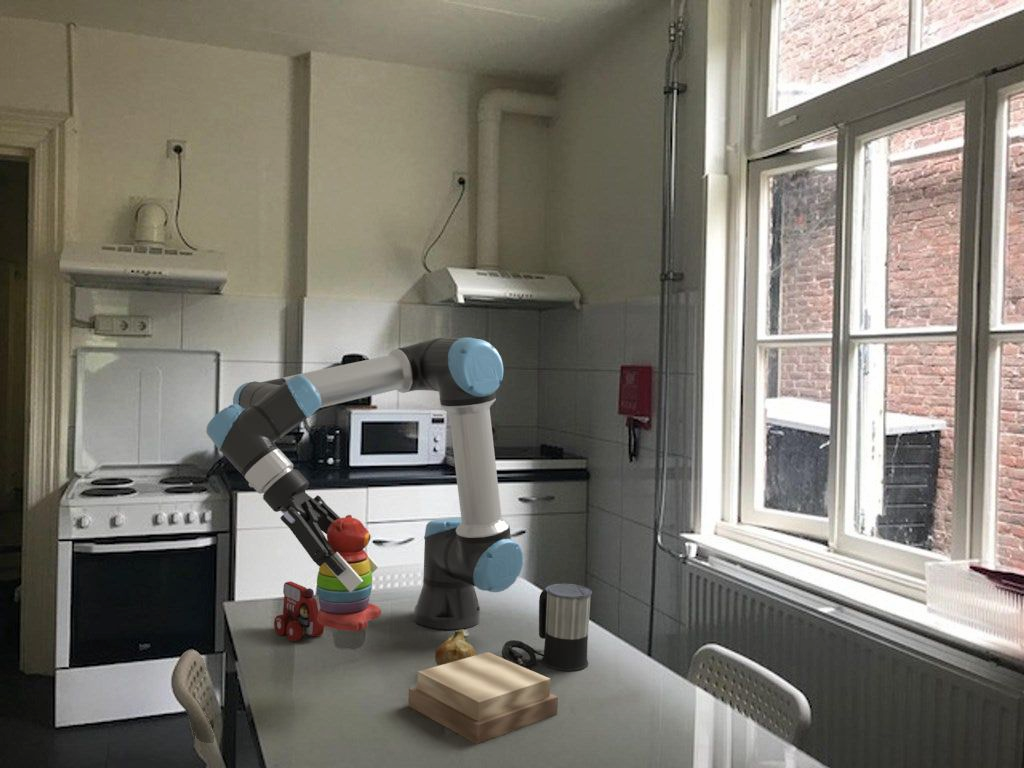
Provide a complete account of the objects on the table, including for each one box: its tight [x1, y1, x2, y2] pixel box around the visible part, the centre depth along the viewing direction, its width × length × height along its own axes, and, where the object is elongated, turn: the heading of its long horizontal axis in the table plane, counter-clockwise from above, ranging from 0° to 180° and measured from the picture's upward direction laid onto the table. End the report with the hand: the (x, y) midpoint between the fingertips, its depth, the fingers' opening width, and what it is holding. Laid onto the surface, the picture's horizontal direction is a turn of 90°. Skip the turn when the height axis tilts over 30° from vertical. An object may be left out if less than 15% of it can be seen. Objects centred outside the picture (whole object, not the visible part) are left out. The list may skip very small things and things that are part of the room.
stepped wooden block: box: [407, 651, 559, 745], centre depth 141 cm, size 18×18×6 cm
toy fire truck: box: [273, 580, 325, 643], centre depth 175 cm, size 7×12×10 cm, turn 45°
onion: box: [434, 628, 477, 666], centre depth 158 cm, size 8×8×8 cm
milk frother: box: [501, 583, 593, 672], centre depth 164 cm, size 14×16×15 cm
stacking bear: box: [316, 514, 382, 632], centre depth 143 cm, size 11×10×18 cm
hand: (365, 579), depth 142 cm, fingers closed on stacking bear, 9 cm apart
